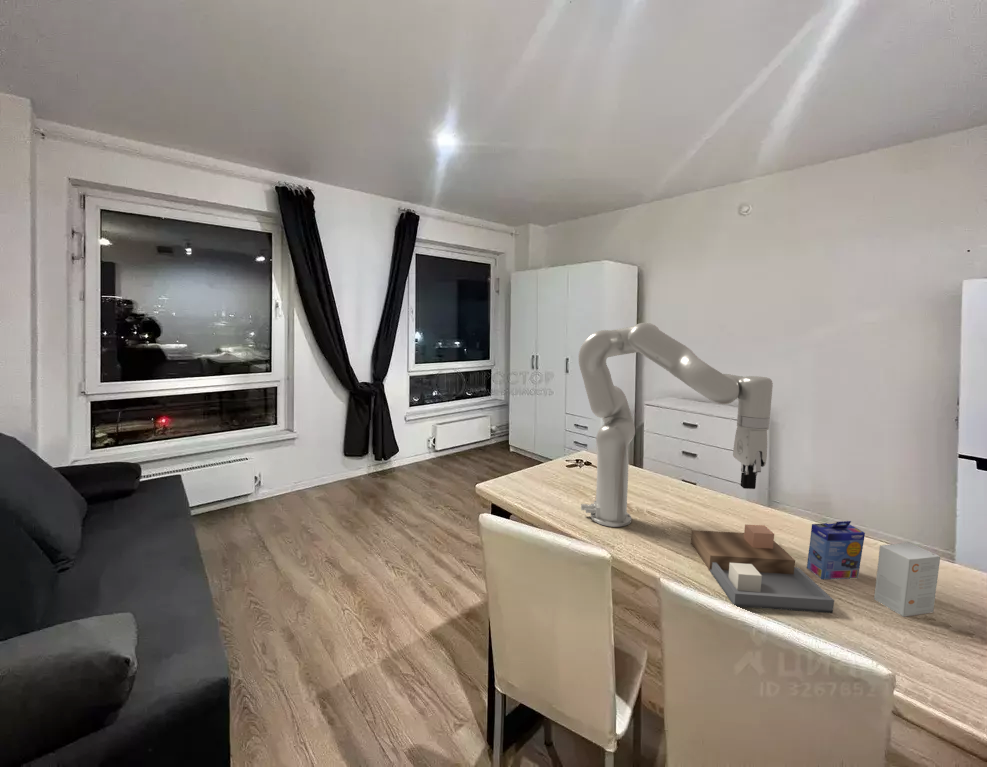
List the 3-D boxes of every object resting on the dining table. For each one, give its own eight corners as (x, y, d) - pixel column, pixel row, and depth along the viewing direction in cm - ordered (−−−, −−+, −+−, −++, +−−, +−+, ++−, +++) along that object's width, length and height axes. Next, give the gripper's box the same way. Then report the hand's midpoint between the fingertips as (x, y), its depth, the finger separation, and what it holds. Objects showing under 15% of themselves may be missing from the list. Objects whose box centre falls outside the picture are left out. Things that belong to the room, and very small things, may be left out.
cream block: (729, 562, 105) (728, 578, 105) (738, 574, 100) (737, 590, 100) (751, 564, 104) (750, 579, 105) (761, 575, 99) (760, 592, 100)
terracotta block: (752, 547, 113) (753, 532, 113) (743, 538, 118) (744, 524, 118) (773, 548, 113) (774, 533, 112) (763, 539, 118) (764, 525, 117)
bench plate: (709, 570, 110) (710, 555, 109) (690, 543, 124) (691, 530, 123) (794, 575, 108) (795, 560, 107) (765, 547, 122) (766, 534, 121)
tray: (734, 606, 96) (735, 593, 95) (710, 571, 109) (710, 560, 109) (832, 613, 93) (834, 600, 93) (795, 576, 107) (796, 565, 107)
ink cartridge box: (823, 581, 106) (829, 524, 104) (805, 568, 111) (810, 514, 109) (861, 579, 106) (867, 522, 105) (841, 567, 112) (847, 513, 110)
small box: (901, 595, 100) (908, 541, 98) (934, 613, 94) (942, 556, 92) (872, 599, 98) (879, 544, 97) (903, 617, 92) (910, 559, 91)
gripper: (727, 416, 126) (723, 477, 128) (750, 427, 111) (744, 497, 113) (755, 417, 125) (750, 479, 127) (782, 429, 110) (776, 498, 112)
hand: (747, 487), depth 120 cm, fingers closed
